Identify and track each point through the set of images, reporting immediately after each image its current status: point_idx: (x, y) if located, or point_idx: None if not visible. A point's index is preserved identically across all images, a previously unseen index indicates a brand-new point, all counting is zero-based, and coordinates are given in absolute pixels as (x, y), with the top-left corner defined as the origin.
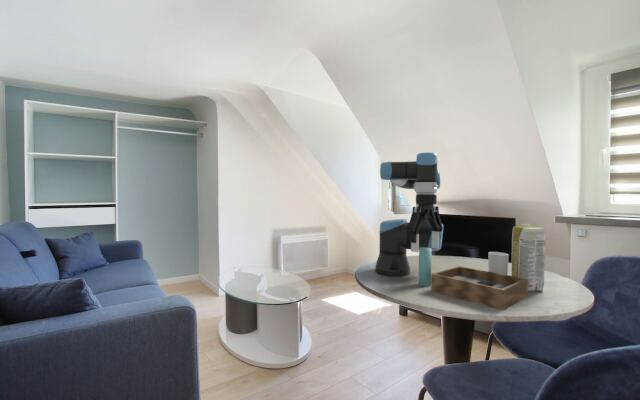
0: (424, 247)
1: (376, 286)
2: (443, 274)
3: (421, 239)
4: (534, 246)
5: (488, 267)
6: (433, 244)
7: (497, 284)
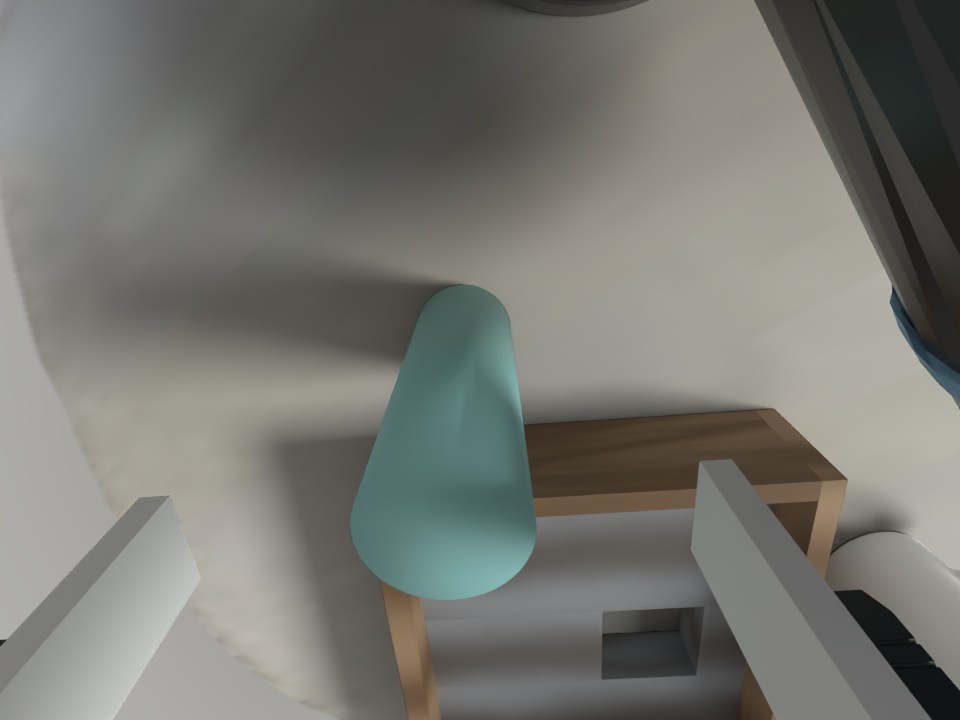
0: (495, 486)
1: (57, 136)
2: None
3: (900, 233)
4: None
5: (937, 632)
6: (720, 526)
7: (693, 677)
